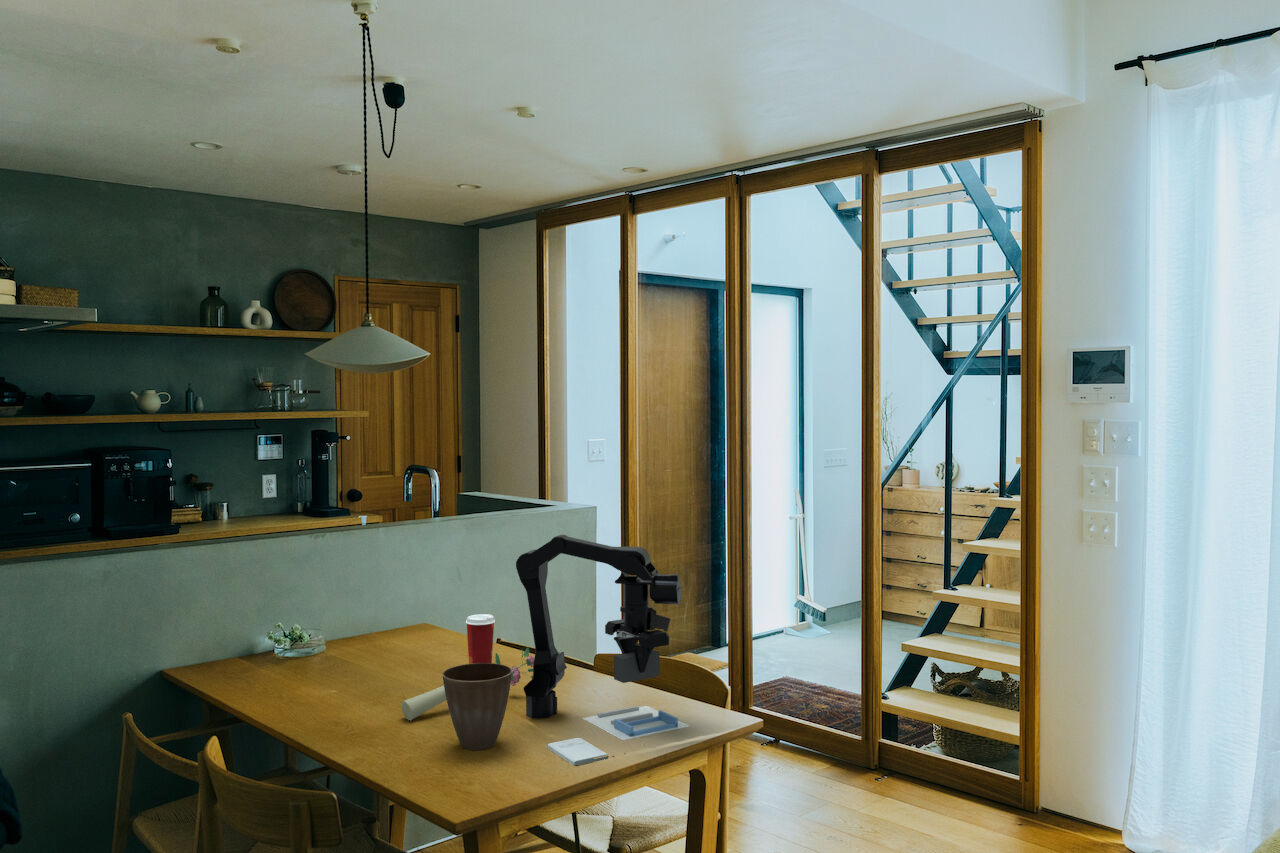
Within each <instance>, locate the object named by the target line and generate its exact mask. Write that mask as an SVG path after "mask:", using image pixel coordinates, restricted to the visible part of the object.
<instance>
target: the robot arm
mask: <svg viewBox="0 0 1280 853" xmlns="http://www.w3.org/2000/svg"><path fill="white" fill-rule="evenodd" d="M561 554H563V555H568V556H571V557H576V558H580V559H584V560H585V559H586V560H590V561H594V562H598V563H602V564H607V565H609V566H611V567H613V568H614V569H616V570H618V571H620V572H621V573H620V576H619V577H618V578H617V579H616V580H614V583H615V584H618V585H623V606H620V608H619V609H620V612H621V613H623V618H621V619H615V620H608V621H607V622H606V624H605V625H604V632H605V633H604V634H606V635H608V636H614V635H615V633H616V636H614V637H613V640H614V642H616V645H617V646H618V648H619V650H620V652H621V654H624V653H630V652H634V654H635V657H636V661H637V665H638V669H639V672H640V673H642V672H644V671H645V668H646V665H647V662H648V659H649V656H650V654H651V651H652V650H654V649H655V648H657V647H660V648H661V647H663V646H669V645H670V643H671V642H670V640H671V639H670V635H669V633H667V632H668V630H669V628H670V623H671V620H672V618H671V617H666V616H663V615H660V614H657V610H656V609H654V608H653V606H649V602H650V601H649V600H651V601H653V602H654V604H656V605H658V604H660V605H681V601H682V594H683V590H682V589H683V588H682V587H683V586H682V585H681V579H680V574H679V573H672V574H660V572H659V571H658V570H657V568H656V567H655V566H654V564H653V563H652V561H651V556H650V554H649V552H648V550H647V549H645V548H643V547H642V546H611V545H607V544H603V543H597V542H594V541H590V540H584V539H580V538H576V537H571V536H567V534H558V535H556V536H553V538H552V539H551V540H550V541H549V540H548V542H546V543H545V544H543V545H542V546H540V547H539V548H537V549H531V550H529V551H527V552H525V553H522V554H521V555H519V556H518V558H517V559H516V562H515V569H516V571H517V575H518V577H519V581H520V583H521V585H522V586H523V588H524V590H525V591H526V596H527V597H526V598H527V603H528V609H529V616H530V622H531V630H532V635H533V642H534V648H535V654H534V656H533V658H534V663H533V667H532V669H533V672H532V676H533V679H532V678H531V680H530V681H529V682H528V683H527V684H526V685H524V686H523V691H524V692H523V693H524V694H525V697H526V698H525V699H526V700H525V712H526V713H525V715H526V716H527V717H528V718H529V719H531V720H535V719H536V720H537V719H539V720H542V719H549V718H551V717H553V716H555V715H557V714H558V697H557V695H556V694H557V693H556V690H554V689H555V688H556V687H557V684H558V683H559V682H560V681H561V680H562V679H563V678H564V677H565V670H566V669H567V668H568V667H567V664H566V661H565V652H564V651H561V652H559V651H558V649H557V648H556V645H555V642H554V634H553V628H552V622H551V617H550V610H549V609H550V608H549V602H548V597H547V595H548V594H547V590H546V586H547V579H548V570H549V568H548V566H549V562H551V561H552V560H554V559H555V558H557V557H558V556H559V555H561Z"/></svg>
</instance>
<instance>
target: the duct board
mask: <svg viewBox="0 0 1280 853" xmlns="http://www.w3.org/2000/svg"><path fill="white" fill-rule="evenodd" d="M582 719H583V720H584V721H586V722H588V723H590V724H592V725H593V726H596V727H597V728H599V729H601V730H603V731H604V732H607V733H608V734H611V735H612V736H614V737H616V738H618V739H619V740H621V741H628V740H633V739H637V738H642V737H646V736H651V735H656V734H659V733H666V732H670V731H675V730H678V729H679V730H680V729H684V728H687V727H690V725H689V724H687V723H685V722H682V721H680V720H679V718H678V717H676V716H675V715H672V714H670V713H668V712H666V711H664V710H662V709H661V710H660V709H659V710H657V709H655V708H653V707H650V706H648V705H644V706H638V705H636V706H631V707H626V708H621V709H615V710H609V711H603V712H599V713H598V712H597V715H593V716H587V717H582Z"/></svg>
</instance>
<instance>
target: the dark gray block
mask: <svg viewBox="0 0 1280 853" xmlns="http://www.w3.org/2000/svg"><path fill="white" fill-rule="evenodd" d="M660 655H661V654H660V651H657V650H654V649H653V650H652V651H651V654H650V656H649V659H648V662H647V665H646V668H645V671H644V672H642V673H640V672H639V669H638V665H637V661H636V657H635V654H634V652H630V653H624V654H622V653H621V654H620V653H619V654H614V655H613V680H615V681H618V682H619V683H622V684H624V683H631V682H636V681H642V680H646V679H652V678H657V677H660V676H661V675H660V674H661V672H660V667H661V666H660Z"/></svg>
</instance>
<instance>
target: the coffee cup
mask: <svg viewBox="0 0 1280 853" xmlns="http://www.w3.org/2000/svg"><path fill="white" fill-rule="evenodd" d="M495 623H496V620H495V617H494V616H493V615H492V614H486V613H485V614H484V613H478V614H472V615H469V616H467V618H466V620H465V624H466V632H467V633H466V634H467V635H466V637H467V653H468V655H467V656H468V664H472V663H493V662H492V660H493V649H494V648H493V647H494V631H495V630H494V629H495Z"/></svg>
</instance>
